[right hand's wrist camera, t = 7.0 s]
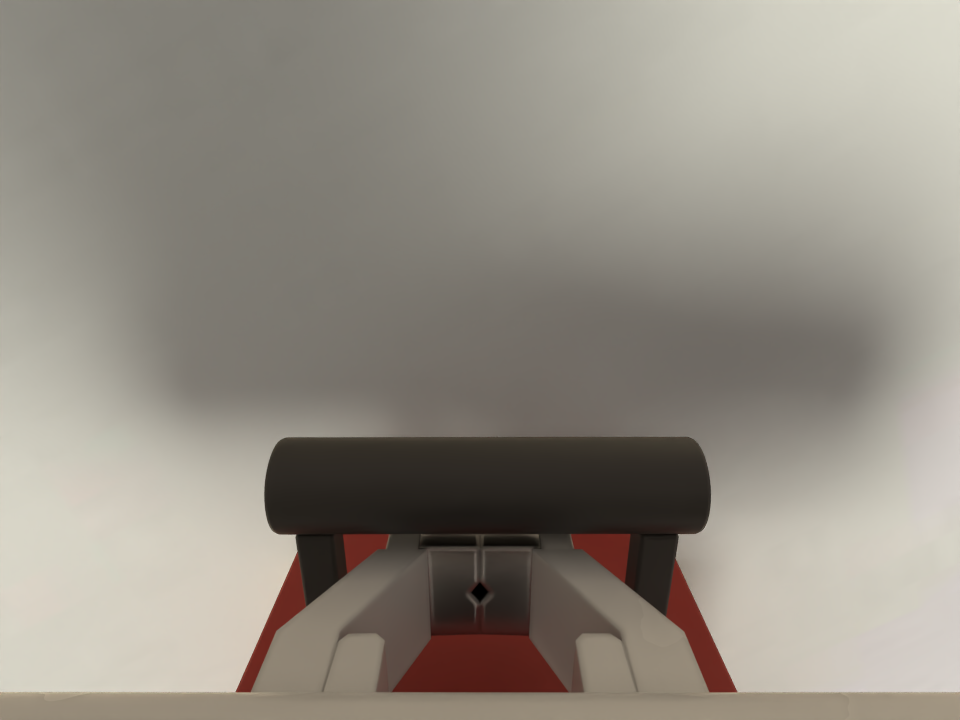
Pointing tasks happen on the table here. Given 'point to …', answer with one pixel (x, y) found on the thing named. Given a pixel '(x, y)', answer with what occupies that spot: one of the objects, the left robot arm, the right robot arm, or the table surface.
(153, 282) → the table surface
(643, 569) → the drawer
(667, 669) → the right robot arm
